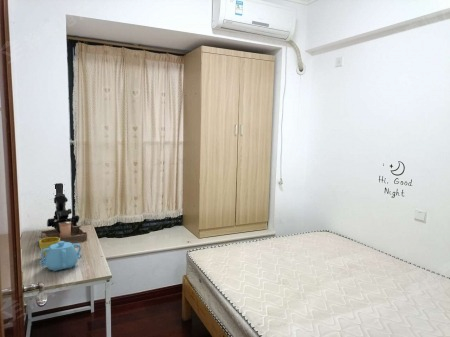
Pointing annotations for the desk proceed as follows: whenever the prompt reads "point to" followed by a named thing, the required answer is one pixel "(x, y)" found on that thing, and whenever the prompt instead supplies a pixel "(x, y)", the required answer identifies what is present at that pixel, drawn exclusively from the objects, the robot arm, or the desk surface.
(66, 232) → the terracotta pot
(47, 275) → the desk surface
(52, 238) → the plant pot
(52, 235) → the frame
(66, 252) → the decorative pot
